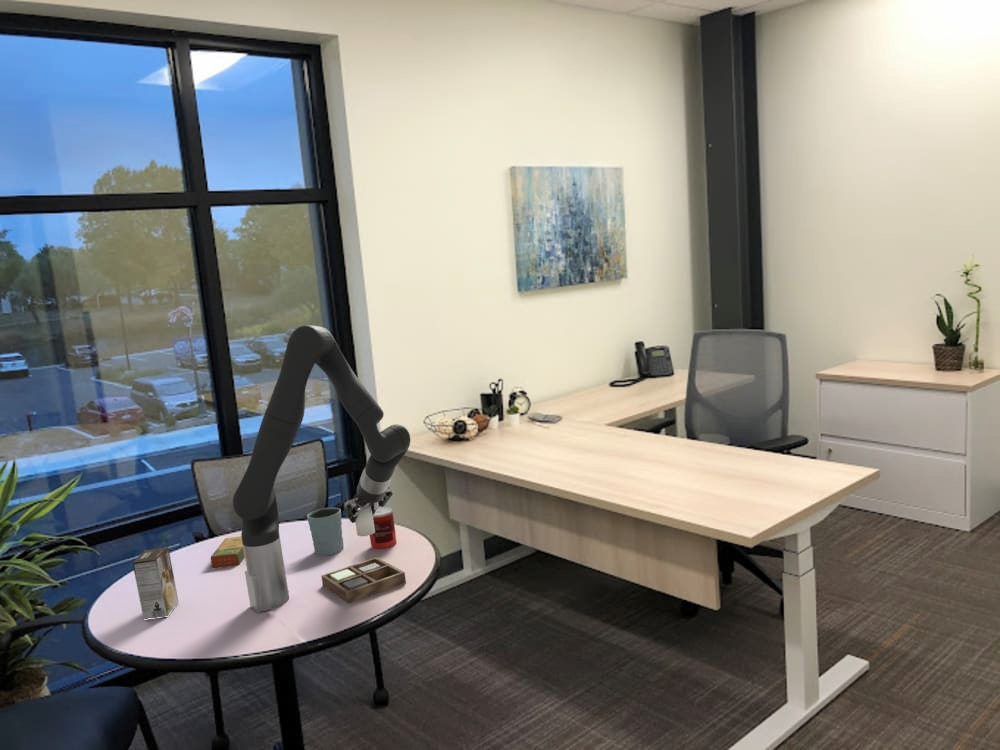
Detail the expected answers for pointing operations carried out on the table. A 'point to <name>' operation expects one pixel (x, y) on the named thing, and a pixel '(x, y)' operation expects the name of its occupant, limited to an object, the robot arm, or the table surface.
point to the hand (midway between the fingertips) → (360, 517)
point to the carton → (228, 553)
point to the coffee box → (155, 583)
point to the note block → (342, 575)
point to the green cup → (326, 530)
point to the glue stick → (365, 522)
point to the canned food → (383, 529)
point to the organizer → (376, 579)
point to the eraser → (355, 583)
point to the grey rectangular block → (369, 567)
